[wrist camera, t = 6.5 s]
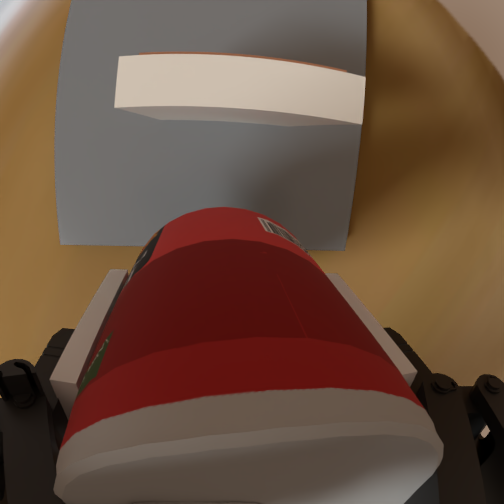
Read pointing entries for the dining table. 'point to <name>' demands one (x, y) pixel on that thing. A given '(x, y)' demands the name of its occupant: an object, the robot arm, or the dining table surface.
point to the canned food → (240, 382)
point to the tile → (238, 89)
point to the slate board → (200, 123)
